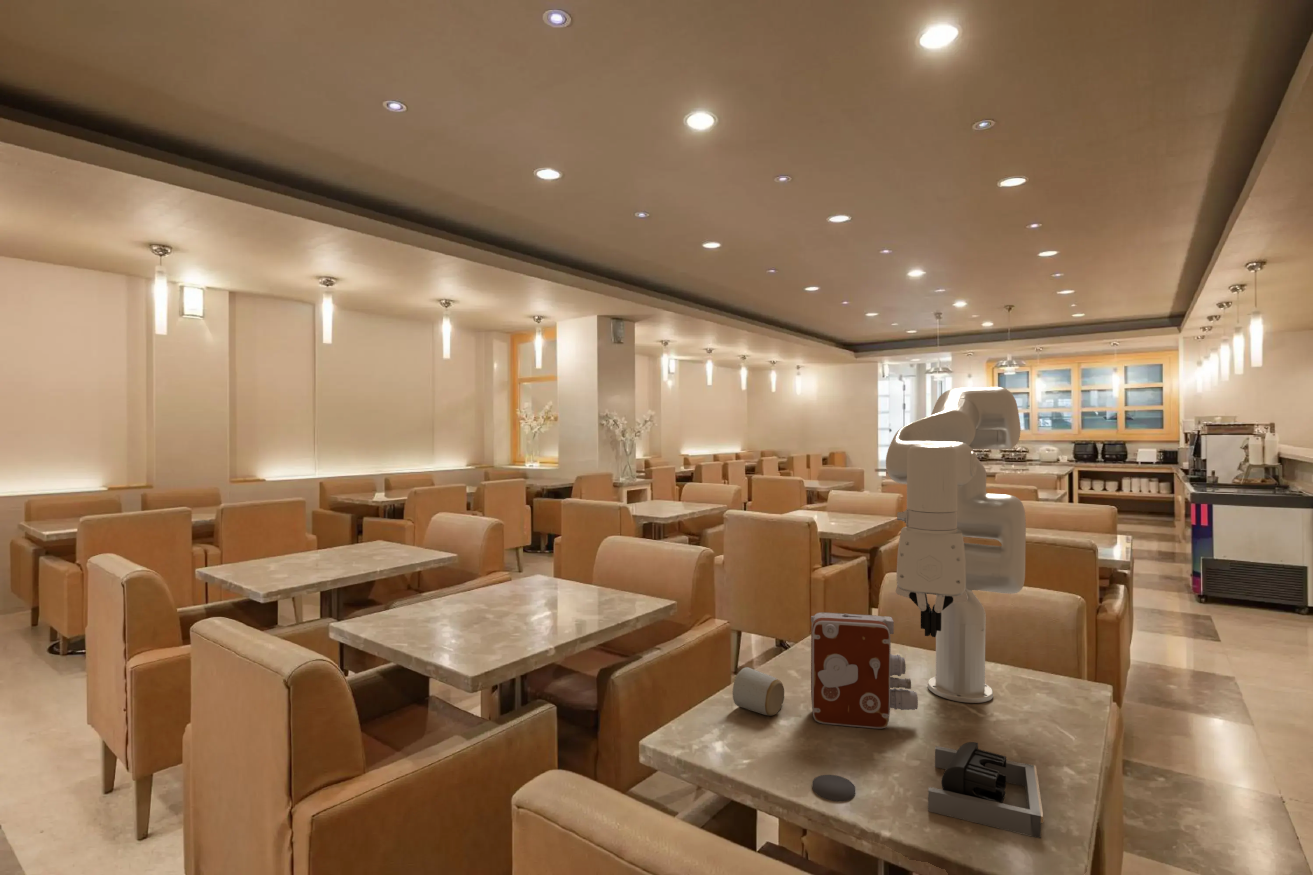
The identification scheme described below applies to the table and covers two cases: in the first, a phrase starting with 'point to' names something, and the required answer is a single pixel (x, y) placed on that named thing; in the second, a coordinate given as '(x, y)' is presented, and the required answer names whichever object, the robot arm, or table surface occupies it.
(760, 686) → the ceramic mug
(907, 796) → the table surface
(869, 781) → the table surface
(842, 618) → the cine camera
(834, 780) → the lens cap
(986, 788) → the end cap
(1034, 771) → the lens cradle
